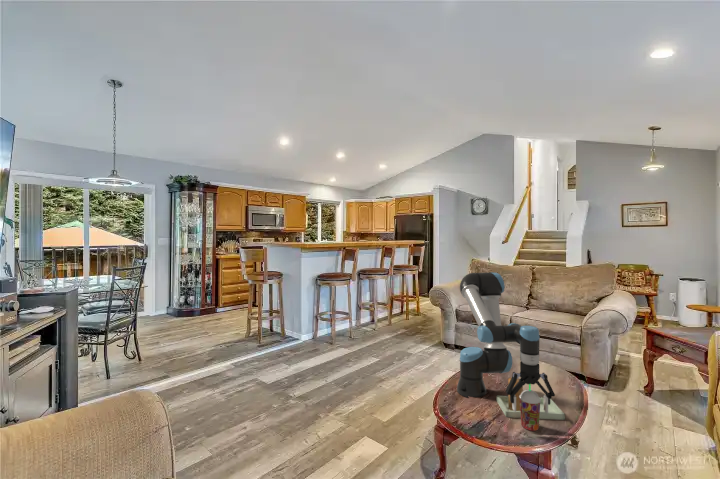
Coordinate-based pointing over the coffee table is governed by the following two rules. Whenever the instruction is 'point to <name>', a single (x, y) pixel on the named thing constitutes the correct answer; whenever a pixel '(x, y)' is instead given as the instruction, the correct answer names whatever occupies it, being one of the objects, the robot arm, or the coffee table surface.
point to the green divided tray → (552, 413)
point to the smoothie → (530, 409)
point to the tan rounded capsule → (516, 397)
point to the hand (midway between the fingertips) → (529, 410)
